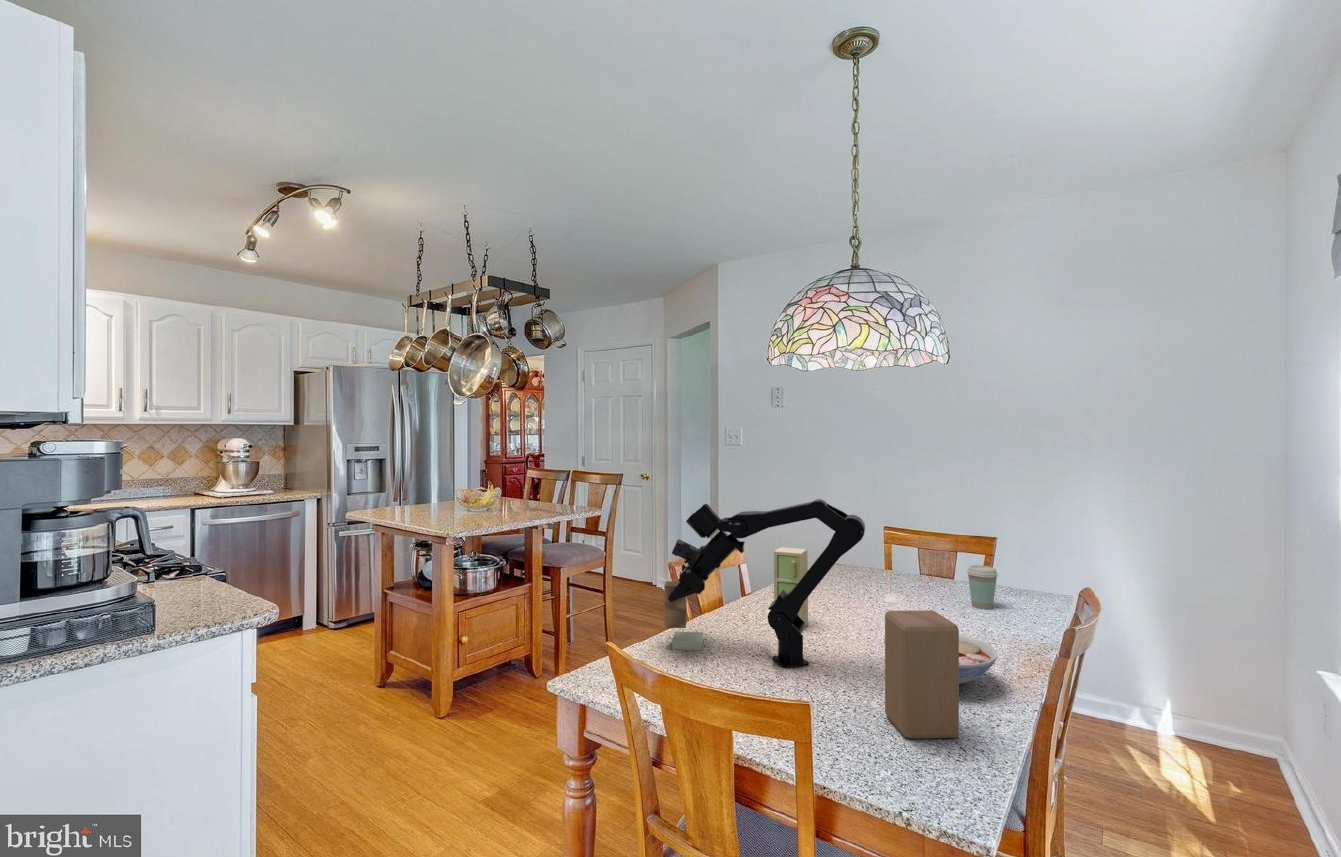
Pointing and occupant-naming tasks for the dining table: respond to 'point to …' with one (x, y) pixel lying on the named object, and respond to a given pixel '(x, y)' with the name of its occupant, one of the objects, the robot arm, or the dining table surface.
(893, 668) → the wooden block
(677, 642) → the sage top slab
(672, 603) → the walnut pillar
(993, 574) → the coffee cup
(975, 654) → the ramen bowl
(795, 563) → the toy refrigerator
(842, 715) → the dining table surface
